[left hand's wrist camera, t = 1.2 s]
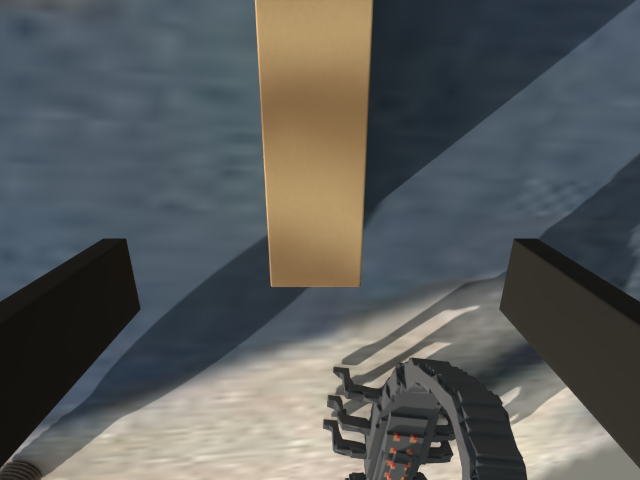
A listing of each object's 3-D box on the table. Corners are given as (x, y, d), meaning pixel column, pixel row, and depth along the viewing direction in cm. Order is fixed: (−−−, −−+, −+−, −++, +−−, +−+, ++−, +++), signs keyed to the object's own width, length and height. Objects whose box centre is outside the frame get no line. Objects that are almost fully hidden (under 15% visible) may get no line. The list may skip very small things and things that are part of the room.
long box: (346, 228, 29) (360, 287, 20) (285, 228, 29) (270, 287, 20) (360, -262, 19) (401, -611, 10) (267, -263, 19) (220, -615, 10)
